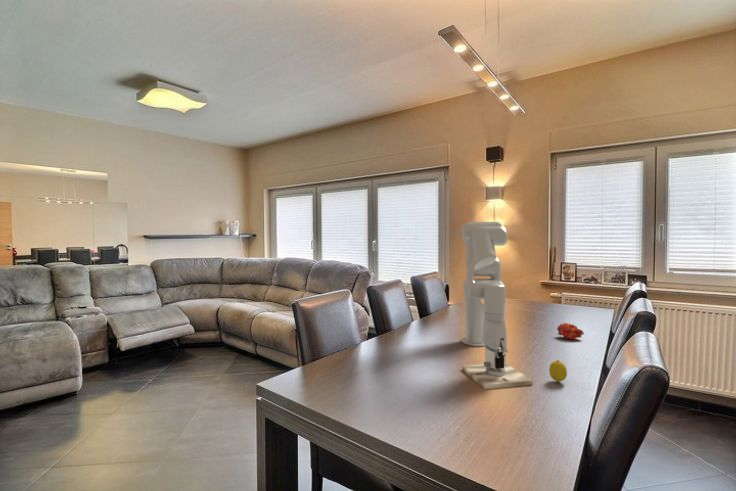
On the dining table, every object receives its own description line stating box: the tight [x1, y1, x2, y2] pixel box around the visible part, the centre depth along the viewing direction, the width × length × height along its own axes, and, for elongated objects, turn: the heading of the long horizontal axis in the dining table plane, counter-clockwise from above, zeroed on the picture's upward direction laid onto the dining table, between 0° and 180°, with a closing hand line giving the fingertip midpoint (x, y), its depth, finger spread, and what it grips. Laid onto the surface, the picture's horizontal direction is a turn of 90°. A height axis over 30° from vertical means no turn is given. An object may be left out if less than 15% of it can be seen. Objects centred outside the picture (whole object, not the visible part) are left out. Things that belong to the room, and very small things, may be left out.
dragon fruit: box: [556, 322, 585, 341], centre depth 176 cm, size 8×8×12 cm
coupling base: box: [461, 363, 534, 390], centre depth 130 cm, size 18×18×4 cm
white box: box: [483, 347, 507, 369], centre depth 130 cm, size 7×5×6 cm
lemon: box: [548, 359, 568, 384], centre depth 125 cm, size 6×6×8 cm
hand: (495, 364), depth 130 cm, fingers closed on white box, 5 cm apart
